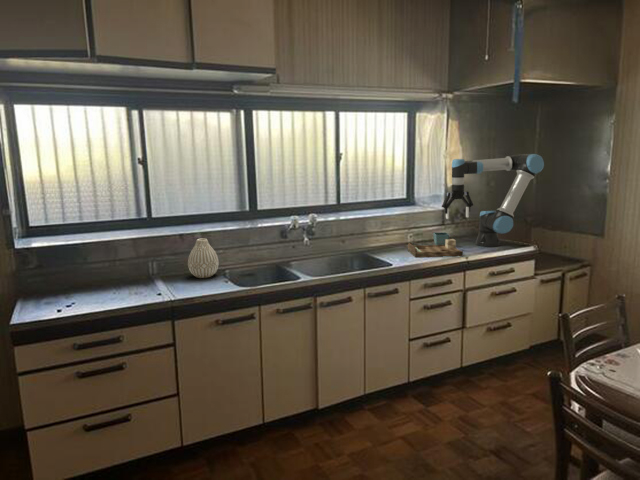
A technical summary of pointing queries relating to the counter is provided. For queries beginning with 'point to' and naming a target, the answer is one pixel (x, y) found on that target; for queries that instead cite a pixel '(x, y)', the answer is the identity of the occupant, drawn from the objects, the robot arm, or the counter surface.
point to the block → (450, 243)
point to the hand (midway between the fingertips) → (457, 218)
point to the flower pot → (440, 238)
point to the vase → (203, 259)
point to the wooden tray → (433, 251)
